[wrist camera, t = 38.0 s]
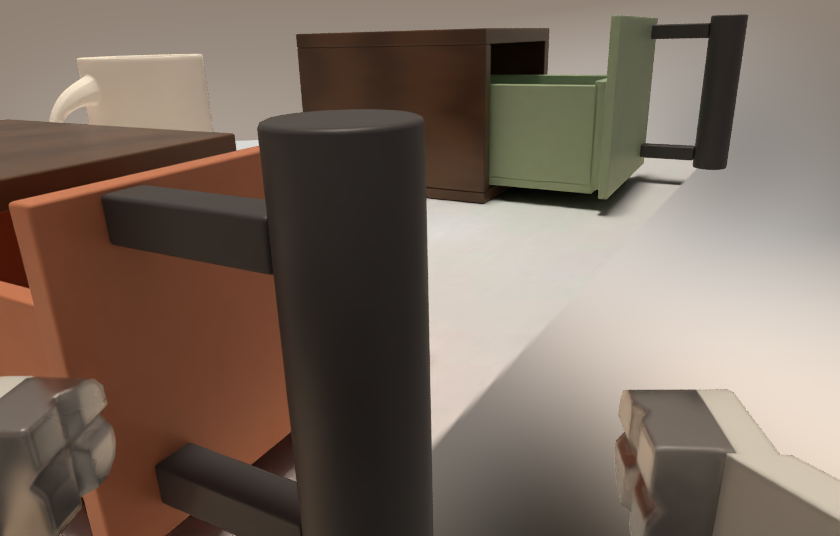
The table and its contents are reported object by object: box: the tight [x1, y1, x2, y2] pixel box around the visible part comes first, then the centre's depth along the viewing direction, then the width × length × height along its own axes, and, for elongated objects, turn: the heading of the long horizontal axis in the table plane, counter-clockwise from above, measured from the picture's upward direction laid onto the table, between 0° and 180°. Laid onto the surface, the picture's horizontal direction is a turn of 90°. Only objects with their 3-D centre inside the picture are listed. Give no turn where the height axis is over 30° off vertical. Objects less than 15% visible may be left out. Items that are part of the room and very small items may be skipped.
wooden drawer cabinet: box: [296, 28, 549, 203], centre depth 53 cm, size 16×14×12 cm
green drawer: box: [489, 15, 748, 199], centre depth 48 cm, size 22×14×11 cm, turn 62°
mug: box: [49, 54, 213, 132], centre depth 47 cm, size 9×12×11 cm
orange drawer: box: [0, 109, 433, 536], centre depth 19 cm, size 22×14×9 cm, turn 62°
